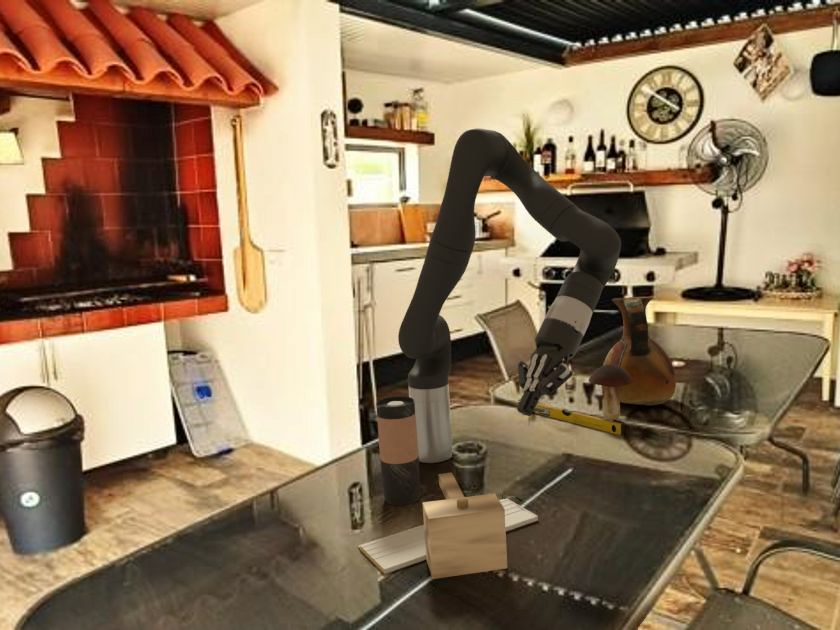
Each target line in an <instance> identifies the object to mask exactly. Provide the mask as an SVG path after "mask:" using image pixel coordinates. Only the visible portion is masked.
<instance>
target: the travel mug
mask: <svg viewBox="0 0 840 630" xmlns="http://www.w3.org/2000/svg"><path fill="white" fill-rule="evenodd" d="M375 405H376V418H377V431H378V432H377V433H378V435H377V436H378V446H379V458H380V460H379V461H380V469H381V470H380V471H381V479H382V488H383V497H384V501H385V502H386V503H387V504H389V505H392V506H399V507H401V506H409V505H412V504H414V503H416V502H418V501H419V500H420V498H421V487H420V486H421V483H420V462H419V454H418V441H417V428H416V416H415V403H414V399H413V398H410V397H409V396H403V395H402V396H401V395H399V396H398V395H397V396H396V395H395V396H389V397H385V398H381V399H379V400H378V401H376V403H375Z"/></svg>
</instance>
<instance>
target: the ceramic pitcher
mask: <svg viewBox="0 0 840 630" xmlns="http://www.w3.org/2000/svg"><path fill="white" fill-rule="evenodd" d="M652 300H653V296H636V297H635V296H630V297H628V296H627V297H619V298H618V297H617V298H616V297H615V298H612V299H611V301H612V302H613V303H614V304H615V305H616V306H617V307H618V309H619V310H620V313H621V315H622V321H623V328H622V329H623V332H622V336H621V338H620V340H619V341H617V342H616V343H615V344H614V345H613V346H612V347H611V349H610V350H609V351H608V353H607V354H606V357H605V359H604V361H603V364H602V366H604V365H606V364H615V365H618V366H620V367H621V368H623V369H624V370H625V371H627V372H628V373H629V375H630V376H631V378H632V379H633V383H631V384H629V385H624V386H617V389H618V394H619V401H620V403H623V404H629V405H638V406H640V405H641V406H657V405H659V404H660V405H663V404H664V403H666V402H668V401H669V400H670V399H672V398H673V396H674V394H675V393H676V385H677V379H676V373H675V370H674V369H675V368H674V367H673V363H672V361H671V359H670V357H669V356H668V354H667V352H666V350H664V348H663V347H662V346H661V345H660V344H659V343H658V342H657V341H656V340H654V339H652V338H651V337H650V336H649V326H648V325H649V324H648V319H647V314H646V308H647V306H648V304H649V303H650V302H651V301H652ZM601 390H602V394H603V395H604V390H605V386H603V385H601ZM662 403H663V404H662ZM660 405H659V406H660Z"/></svg>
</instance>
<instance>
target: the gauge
mask: <svg viewBox="0 0 840 630" xmlns="http://www.w3.org/2000/svg"><path fill="white" fill-rule="evenodd" d="M438 484H439V485H438V486H439V487H440V489H441V492H442V494H443V495H444V498H445V499H441V500H440V499H439V500H432V501H423V502H422V513H423V515H422V516H423V525H424V533H425V547H426V563H427V565H428V566H427V567H428V569H429V572H430V575H431V577H432V578H431V579H432V580H433V579H434V580H436V579H441V578H442V579H443V578H448V577H456V576H462V575H463V576H464V575H470V574H478V573H484V572H490V571H498V570H504V569H508V556H507V555H508V554H507V553H508V552H507V536H506V535H507V534H506V532H507V531H506V529H505V509H504V507H503V506H502V504H501V503H500V501H499V500H500V499H499V498H498V497H497V495H496V493H487V494H480V495H479V494H478V495H472V496H465V495H464V494H463V492H462V490H461V488H460V486H459V484H458V481H457V480H456V478H455V476H454V475H453V472H447V473H446V472H445V473H439V474H438Z"/></svg>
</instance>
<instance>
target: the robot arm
mask: <svg viewBox="0 0 840 630" xmlns="http://www.w3.org/2000/svg"><path fill="white" fill-rule="evenodd" d="M485 177H491V178H493V179H495V180H496V181H498V182H500V183H501V184H503V185H504V186H506V187H507V188H508V189H509V190H510V191H512V192H513V193H514V194H515V196H516V197H517V198H518V200H520V202H521V203H522V204H521V205H523V207H524V209H525V210H526V212H527V213H528V214H529V215H530V217H531V218H533V220H534V221H535V222H536V223H538V224H539V225H540V227H541V228H543V229H545V231H547V232H548V233H549V234H550V235H551V236H553V238H555V239H557V240H558V241H560V242H568V241H569V242H570V243H571V244H574V245H575V246H576V247H577V248H578V249H579V250H580V251H579V256H578V257H577V261H576V264H575V265H574V267H573V269H572V271H571V272H570V273H568V275H567V276H566V278H565V279H564V280H563V283H562V285H561V286H560V289H559V291H558V293H557V295H556V297H555V299H554V301H553V302H552V303H551V305H550V307H549V309H548V310H547V312H546V315H545V317H544V319H543V321H542V323H541V325H540V327H539V329H538V331H537V333H536V335H535V338H534V343H535V345H536V349H535V350H534V351H533V352H532V353H531V355H530V359H529V360H527V361H526V362H524V361H523V360H520V361H519V362H518V364H517V369H518V370H517V371H518V385H519V387H520V388H521V389H523V391H524V392H523V394H522V395H521V398H520V399H521V400H520V399H519V400H520V402H519V401H518V405H517V408H516V410H517V412H518V413H519V414H521V415H523V416H527V417H530V416H531V417H532V414H533V413H532V412H533V411H534V409H535V407H536V405H537V403H539V400H540V399H542V398H543V397H544V396H547V397H549V396H551V395H553V393H555V392H556V391H557V390H558V389H559V388H560V387H561V386H563V384H565V383H566V382H567V381H568V380H569V379H570V378H571V377H572V376H573V371H572V370H570V369H569V367H568V363H569V360H572V359H573V358H574V357H575V356H576V354H577V351H578V349H579V347H580V345H581V343H582V341H583V338H584V337H585V334H586V331H587V329H588V327H589V325H590V322H591V319H592V315H593V313H594V311H595V309H596V306H597V304H598V302H599V300H600V298H601V295H602V291H603V289H604V288H605V286H606V285H607V283H608V281H609V280H610V278H611V277H612V275H613V272H614V270H615V268H616V267H617V264H618V260H619V256H620V252H621V249H622V248H621V247H622V240H621V238H620V235H619V234H618V232H617V231H616V230H615V229H614V228H613V227H612V225H610V224H608V223H607V222H605V221H603V220H602V219H599V218H597V217H596V216H594V215H593V214H590V213H589V212H585V211H583V210H581V209H580V208H579V207H578V206H577V205H576V204H575V203H574V202H572V201H571V200H570V199H568V197H567V196H565V195H564V194H563V193H561V192H560V191H559V190H557V188H555V187H554V186H553V185H552V184H551V183H550V182H548V181H547V180H546V179H544V177H542V176H541V175H540V173H538V172H537V171H536V170H535V169H534V168H533V167H532V166H531V165H530V164H529V163H528V162H527V161H526V160H525V159H524V157H523V156H522V155H521V154H520V152H518V150H517V149H516V148H515V146H514V145H513V144H512V143H511V142H510V141H509V140H508V138H507V137H506V136H504V134H503V133H501V132H499V131H497V130H493V129H485V128H477V127H474V128H473V127H472V128H468V129H466V130H465V131H464V132H462V134H461V135H459V136H458V139H456V143H455V144H454V148H453V152H452V156H451V161H450V166H449V170H448V177H447V181H446V182H447V183H446V185H445V191H444V194H443V198H442V202H441V205H440V207H439V211H438V216H437V218H436V222H435V225H434V228H433V230H432V234H431V236H430V240H429V243H428V247H427V250H426V253H425V257H424V261H423V265H422V267H421V271H420V274H419V277H418V280H417V283H416V286H415V290H414V292H413V295H412V298H411V301H410V303H409V305H408V307H407V309H406V312H405V314H404V316H403V318H402V321H401V323H400V327H399V330H398V336H397V338H398V346H399V349H400V350H401V352H402V353H403V354H404V355H405V356H406V357H407V358H410V359H414V360H415V359H416V360H415V362H414V365H413V367H411V370H410V371H409V372H408V374H407V385H408V397H410V398H413V399H414V403H415V416H416V428H417V441H418V454H419V463H424V464H425V463H426V464H435V463H441V462H445V461H447V460H448V461H449V460H450V459H451V458H452V457H453V456H452V450H453V436H452V434H453V432H452V418H451V417H452V415H451V402H450V386H449V385H450V384H449V383H450V382H449V376H450V373H451V370H452V341H451V340H452V339H451V338H452V337H451V332H450V327H449V324H448V323H447V321H446V319H445V318H444V317H443V316H442V315H441V310H442V308H443V306H444V304H445V302H446V301H447V299H448V298H449V296H450V295H451V293H452V292H453V290H454V289H455V288H456V286H457V285H458V283H459V282H460V280H461V278H462V277H463V275H464V274H465V272H466V270H467V267H468V265H469V262H470V258H471V256H472V253H473V250H474V247H475V243H476V235H477V234H476V232H477V231H476V220H475V219H476V218H475V204H476V199H477V196H478V193H479V190H480V187H481V185H482V182H483V179H484V178H485Z"/></svg>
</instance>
